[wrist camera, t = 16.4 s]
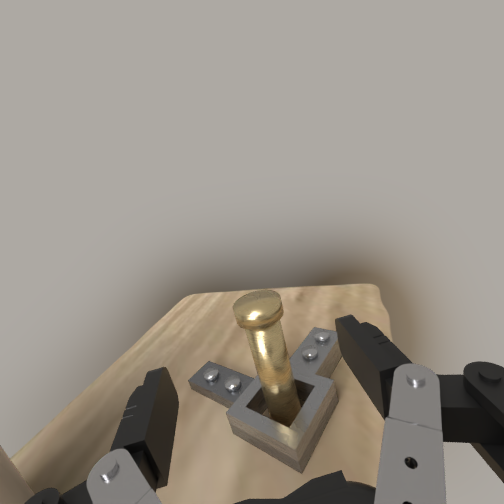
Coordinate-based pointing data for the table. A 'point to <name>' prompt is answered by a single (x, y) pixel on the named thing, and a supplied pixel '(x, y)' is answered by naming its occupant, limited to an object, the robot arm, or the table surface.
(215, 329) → the table surface
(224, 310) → the table surface
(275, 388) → the brass pin
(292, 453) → the bolted corner bracket
